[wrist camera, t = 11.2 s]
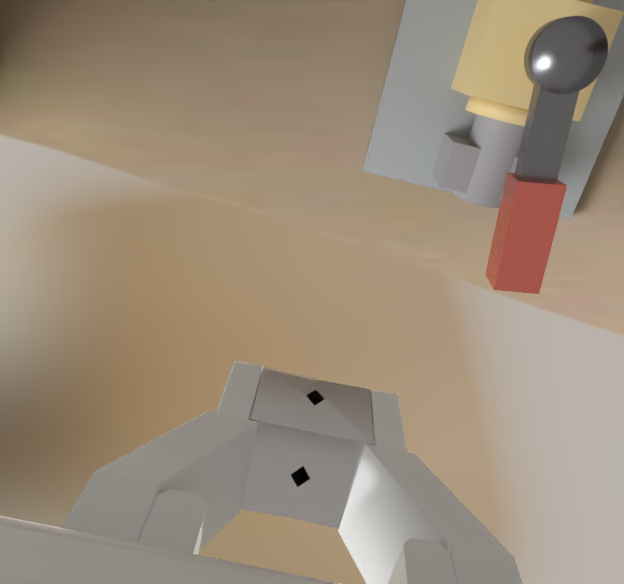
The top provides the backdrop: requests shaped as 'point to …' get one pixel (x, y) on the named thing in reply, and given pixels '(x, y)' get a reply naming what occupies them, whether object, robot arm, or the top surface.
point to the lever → (543, 150)
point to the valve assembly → (484, 96)
